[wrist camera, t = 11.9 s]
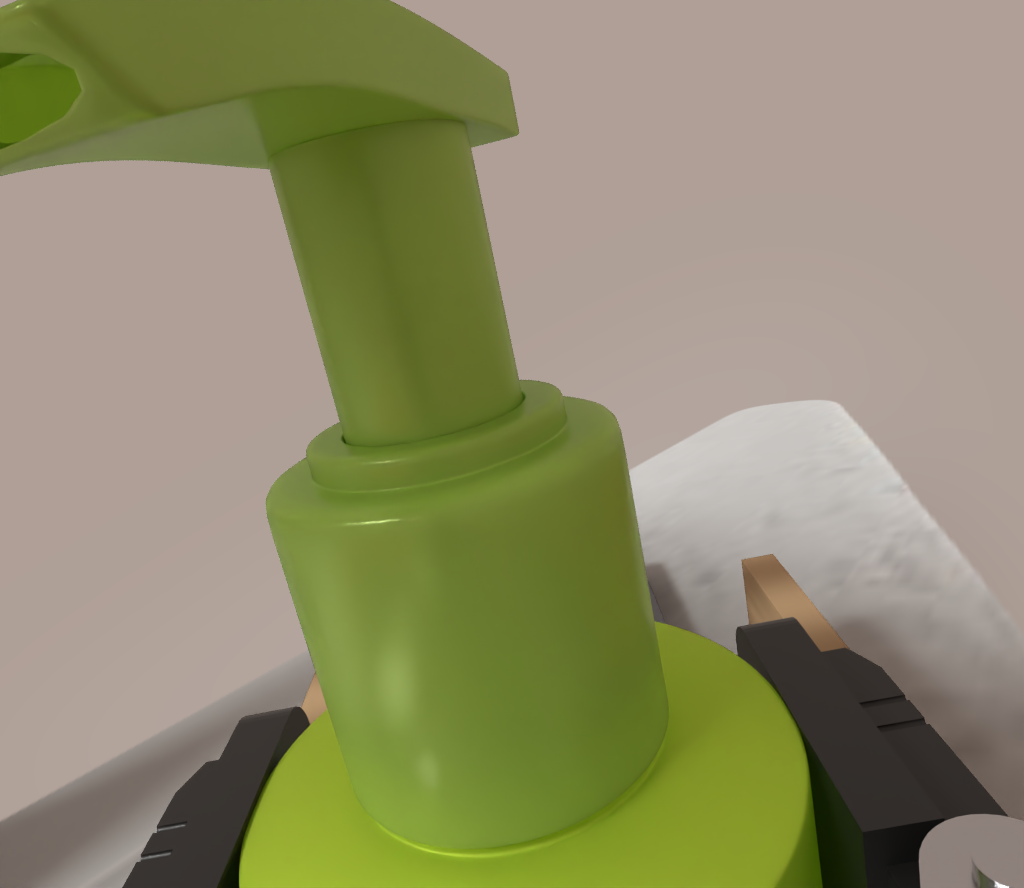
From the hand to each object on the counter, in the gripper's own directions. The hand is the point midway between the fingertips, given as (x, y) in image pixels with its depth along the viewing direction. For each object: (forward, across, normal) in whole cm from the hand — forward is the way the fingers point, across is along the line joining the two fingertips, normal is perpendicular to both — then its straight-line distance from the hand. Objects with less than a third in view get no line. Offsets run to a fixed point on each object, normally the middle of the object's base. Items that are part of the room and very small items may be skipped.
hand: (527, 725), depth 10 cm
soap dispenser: (-2, 0, +12) cm, 12 cm away
